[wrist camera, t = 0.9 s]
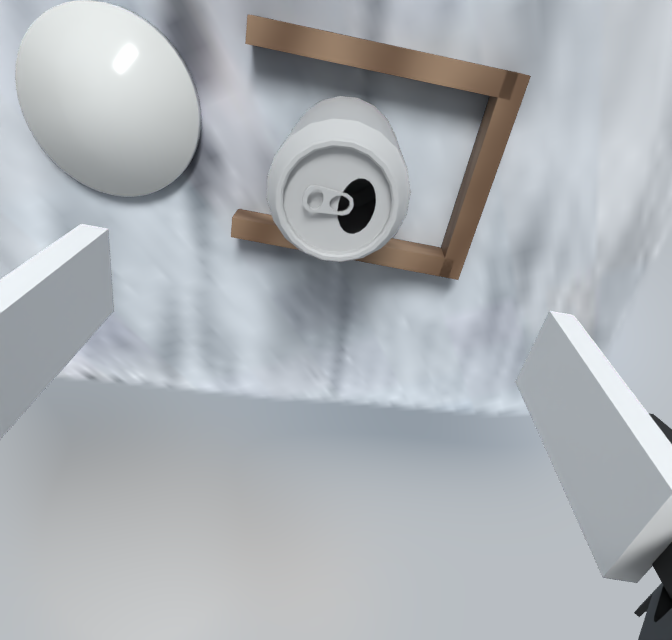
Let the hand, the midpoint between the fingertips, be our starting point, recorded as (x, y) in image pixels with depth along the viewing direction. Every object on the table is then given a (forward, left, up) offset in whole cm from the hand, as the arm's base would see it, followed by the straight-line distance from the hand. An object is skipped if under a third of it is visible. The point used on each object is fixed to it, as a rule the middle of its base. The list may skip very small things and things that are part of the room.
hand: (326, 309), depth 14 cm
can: (0, 0, -23) cm, 23 cm away
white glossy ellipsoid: (-16, 0, -22) cm, 28 cm away
